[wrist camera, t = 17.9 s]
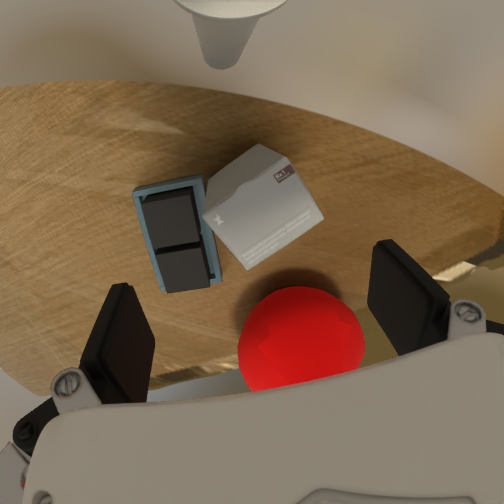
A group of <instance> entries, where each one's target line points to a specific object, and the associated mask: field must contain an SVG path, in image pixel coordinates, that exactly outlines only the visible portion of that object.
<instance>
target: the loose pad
mask: <svg viewBox="0 0 504 504" xmlns="http://www.w3.org/2000/svg"><path fill="white" fill-rule="evenodd" d="M141 207H142V211H143V214H144V218H145V222H146V225H147V229H148V232H149V236H150V239H151V243H152V246H153V249H156V248H162V247H168V246H173V245H179V244H185V243H191V242H197V241H200V233H201V225H200V221H199V216H198V211H197V206H196V201H195V196H194V191H193V186H189V187H183V188H178V189H173V190H168V191H163V192H158V193H153V194H148V195H147V196H146V198H145V199H144V201H143V202H142V203H141Z"/></svg>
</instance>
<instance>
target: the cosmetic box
mask: <svg viewBox="0 0 504 504" xmlns="http://www.w3.org/2000/svg"><path fill="white" fill-rule="evenodd" d="M202 218H203V219H204V221H205V222H206V223H207V224H208V225H209V227H210V228H211V229H212V230H213V231H214V233H215V234H216V235H217V236H218V237H219V238H220V240H221V241H222V242H223V243H224V244H225V245H226V246H227V248H228V249H229V250H230V251H231V252H232V253H233V254H234V256H235V257H236V258H237V259H238V260H239V261H240V262H241V264H242V265H243V266H244V267H245V268H246V269H247V270H249V269H251V268H252V267H254V266H255V265H257V264H258V263H260V262H261V261H263V260H264V259H266V258H268V257H269V256H271V255H272V254H274V253H275V252H277V251H278V250H280V249H281V248H283V247H284V246H286V245H287V244H289V243H290V242H292V241H293V240H295V239H296V238H298V237H299V236H300V235H302V234H303V233H305V232H306V231H308V230H309V229H311V228H312V227H313V226H315V225H316V224H318V223H319V222H321V221H322V220H324V217H323V215H322V213H321V211H320V209H319V208H318V206H317V204H316V203H315V201H314V199H313V197H312V196H311V194H310V192H309V191H308V189H307V188H306V186H305V184H304V183H303V181H302V179H301V178H300V176H299V175H298V173H297V171H296V170H295V168H294V167H293V165H292V164H291V162H290V161H289V159H288V158H287V157H286V156H283V155H281V154H279V153H277V152H275V151H273V150H271V149H269V148H267V147H265V146H263V145H261V144H259V143H258V144H256V145H255V146H253V147H252V148H250V149H249V150H247V151H246V152H245V153H243V154H242V155H240V156H239V157H238V158H236V159H235V160H233V161H232V162H231V163H229V164H228V165H227V166H225V167H224V168H223V169H221V170H220V171H219V172H217V173H216V174H215V175H213V176H212V177H211V178H210V179H208V185H207V191H206V198H205V204H204V210H203V215H202Z"/></svg>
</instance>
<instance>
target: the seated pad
mask: <svg viewBox="0 0 504 504" xmlns="http://www.w3.org/2000/svg"><path fill="white" fill-rule="evenodd" d="M155 257H156V261H157V264H158V267H159V270H160V273H161V276H162V279H163V283H164V286H165V289H166V292H167V293H174V292H181V291H188V290H194V289H201V288H207V287H210V268H209V264H208V259H207V255H206V250H205V246H204V241H203V236H202V234H200V241H197V242H191V243H185V244H179V245H173V246H168V247H162V248H157V251H156V254H155Z"/></svg>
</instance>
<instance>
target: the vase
mask: <svg viewBox="0 0 504 504" xmlns="http://www.w3.org/2000/svg"><path fill="white" fill-rule="evenodd" d="M364 352H365V341H364V337H363V332H362V328H361V326H360V324H359V322H358V320H357V318H356V316H355V315H354V313H353V312H352V310H351V309H350V308H349V307H347V306H346V305H345V304H344V303H343V302H342V301H340V300H339V299H337V298H336V297H334V296H333V295H331V294H329V293H327V292H325V291H323V290H321V289H318V288H311V287H304V286H292V287H286V288H283V289H280V290H277V291H275V292H273V293H271V294H269V295H268V296H266V297H265V298H264V299H263V300H262V301H261V302H259V303H258V304H257V305H256V306H255V307H254V309H253V310H252V311H251V313H250V314H249V316H248V317H247V319H246V322H245V325H244V328H243V330H242V333H241V336H240V339H239V343H238V360H239V368H240V370H241V373H242V375H243V377H244V379H245V381H246V383H247V385H248V387H249V388H250V389H251V390H252V391H260V390H266V389H272V388H277V387H282V386H288V385H293V384H297V383H302V382H307V381H311V380H316V379H320V378H324V377H328V376H332V375H336V374H340V373H344V372H348V371H352V370H355V369H357V368H358V366H359V365H360V363H361V361H362V358H363V355H364Z"/></svg>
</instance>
